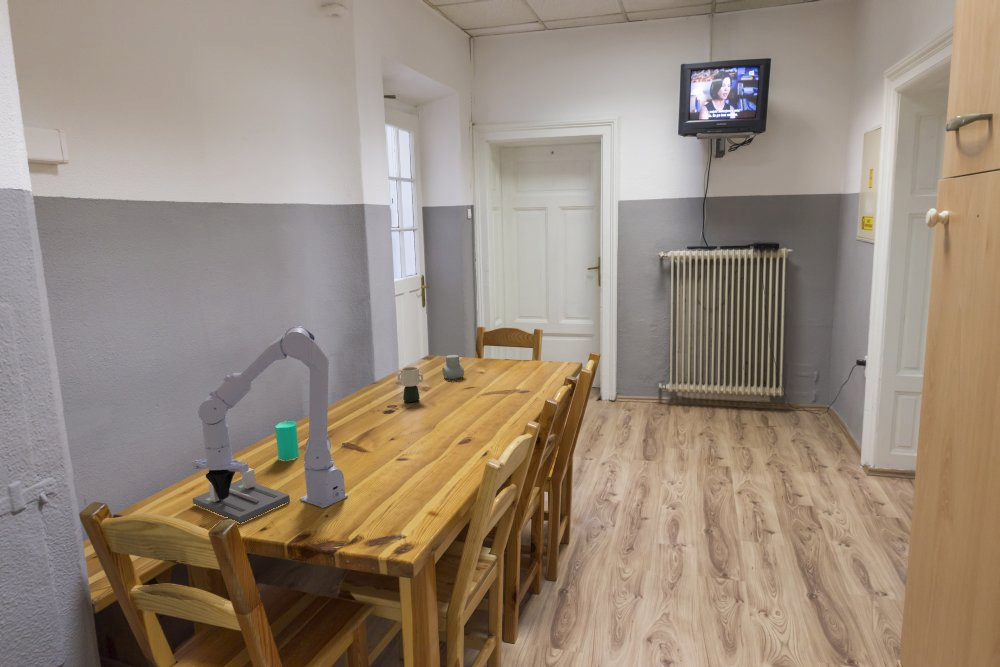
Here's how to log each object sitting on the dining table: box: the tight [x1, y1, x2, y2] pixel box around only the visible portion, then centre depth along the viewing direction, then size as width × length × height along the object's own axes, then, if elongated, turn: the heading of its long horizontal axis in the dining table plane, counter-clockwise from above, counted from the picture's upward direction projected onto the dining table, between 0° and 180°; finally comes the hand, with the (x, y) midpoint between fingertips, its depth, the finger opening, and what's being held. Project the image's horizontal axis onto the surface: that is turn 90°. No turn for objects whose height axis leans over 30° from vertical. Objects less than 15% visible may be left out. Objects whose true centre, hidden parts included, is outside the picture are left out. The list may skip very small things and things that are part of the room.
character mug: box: [396, 366, 424, 403], centre depth 247 cm, size 11×7×13 cm, turn 71°
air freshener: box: [441, 354, 465, 380], centre depth 282 cm, size 11×8×10 cm
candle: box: [274, 419, 300, 460], centre depth 191 cm, size 6×6×12 cm
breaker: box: [241, 467, 257, 489], centre depth 165 cm, size 2×2×4 cm
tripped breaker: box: [208, 482, 220, 502], centre depth 158 cm, size 2×2×4 cm
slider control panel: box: [192, 478, 291, 525], centre depth 160 cm, size 20×14×3 cm
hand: (223, 497), depth 156 cm, fingers closed
